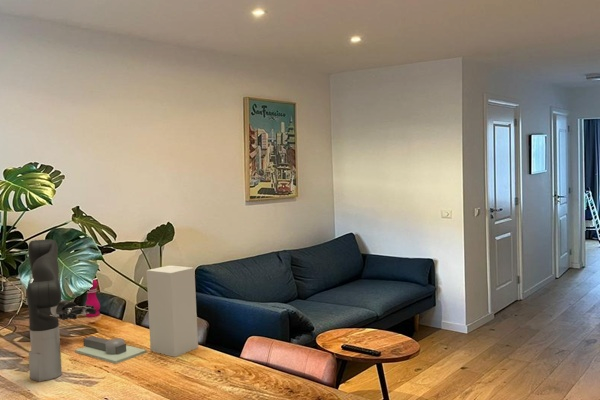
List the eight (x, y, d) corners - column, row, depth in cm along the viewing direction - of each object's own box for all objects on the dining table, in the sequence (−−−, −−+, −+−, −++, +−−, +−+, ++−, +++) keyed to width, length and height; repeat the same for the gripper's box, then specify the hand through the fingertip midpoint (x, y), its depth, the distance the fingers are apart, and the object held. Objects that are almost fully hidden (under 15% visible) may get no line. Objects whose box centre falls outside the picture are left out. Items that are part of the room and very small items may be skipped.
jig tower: (175, 357, 203) (170, 273, 201) (150, 351, 211) (146, 270, 209) (198, 347, 213) (194, 267, 211) (174, 342, 221) (170, 265, 219)
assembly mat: (115, 363, 198) (115, 361, 198) (75, 352, 213) (75, 349, 213) (146, 352, 209) (146, 350, 209) (105, 342, 224) (105, 340, 224)
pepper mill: (97, 317, 266) (94, 277, 265) (82, 317, 266) (80, 277, 265) (102, 313, 273) (100, 274, 272) (88, 314, 274) (86, 275, 273)
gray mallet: (114, 355, 204) (113, 345, 204) (80, 346, 217) (79, 337, 216) (129, 350, 210) (129, 340, 209) (95, 342, 222) (95, 332, 222)
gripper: (47, 304, 224) (68, 309, 214) (78, 297, 235) (100, 301, 226) (48, 322, 224) (69, 327, 215) (79, 314, 236) (101, 319, 226)
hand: (85, 314), depth 220 cm, fingers open, 8 cm apart
